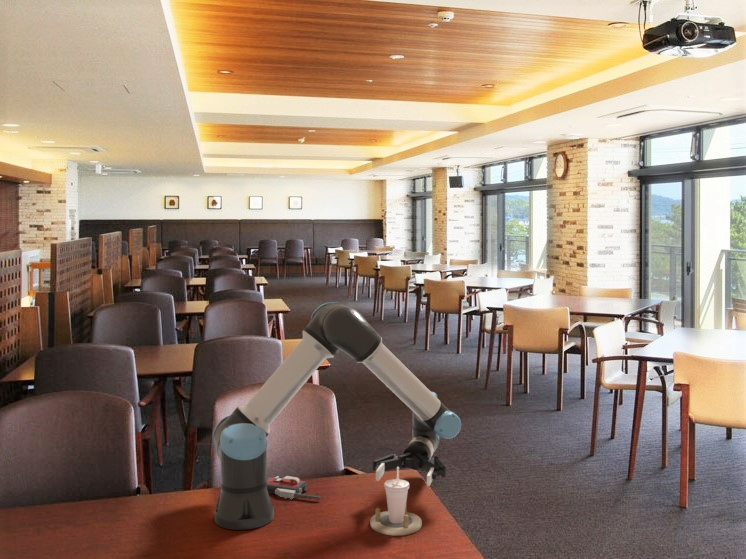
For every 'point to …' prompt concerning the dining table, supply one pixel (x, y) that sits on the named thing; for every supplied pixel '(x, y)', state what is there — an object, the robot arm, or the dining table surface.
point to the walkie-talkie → (288, 487)
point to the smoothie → (396, 498)
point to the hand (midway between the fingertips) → (402, 478)
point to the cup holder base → (396, 529)
